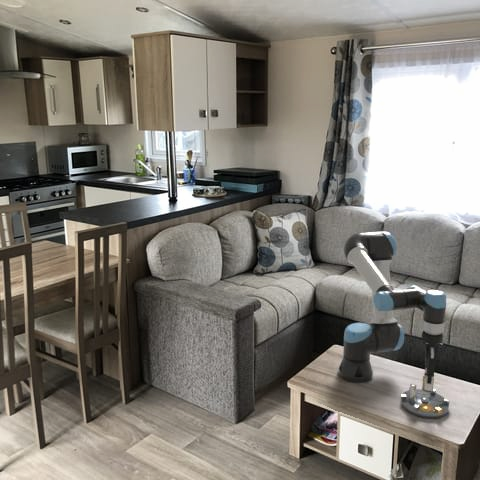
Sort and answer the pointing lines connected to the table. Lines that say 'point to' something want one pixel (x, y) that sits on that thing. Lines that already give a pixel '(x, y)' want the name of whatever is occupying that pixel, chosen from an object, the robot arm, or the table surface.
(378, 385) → the table surface
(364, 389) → the table surface
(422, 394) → the dark grey round base
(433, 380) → the roller
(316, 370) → the table surface
